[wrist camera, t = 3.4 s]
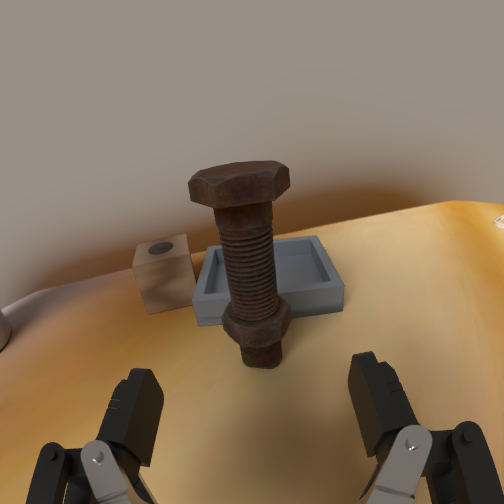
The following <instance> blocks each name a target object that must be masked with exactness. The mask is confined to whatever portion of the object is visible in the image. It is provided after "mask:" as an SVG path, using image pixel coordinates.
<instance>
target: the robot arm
mask: <svg viewBox="0 0 504 504" xmlns="http://www.w3.org/2000/svg"><path fill="white" fill-rule="evenodd" d="M10 334H11V327H10V325H9V323H8V322H7V320H6V318H5V316H4V314H3V312H2V310H1V309H0V350H1V349H2V348H3V347H4V346H5V344H6V343H7V341H8V339H9V337H10ZM348 388H349V393H350V396H351V399H352V403H353V406H354V410H355V413H356V417H357V420H358V424H359V427H360V431H361V434H362V438H363V442H364V446H365V449H366V453H367V457H372V456H375V455H376V458H377V461H378V463H377V464H376V466H375V468H374V470H373V472H372V474H371V476H370V478H369V480H368V482H367V483H366V485H365V487H364V489H363V490H362V492H361V494H360V496H359V497H358V499H357V500H356V502H355V503H354V504H413V503H414V499H415V497H414V491H415V488H416V486H417V484H418V481H419V479H420V477H425V476H426V480H427V484H428V488H429V493H430V497H431V502H432V504H504V495H503V491H502V487H501V484H500V480H499V477H498V474H497V471H496V468H495V465H494V462H493V459H492V456H491V453H490V450H489V448H488V445H487V442H486V440H485V437H484V435H483V432H482V430H481V428H480V427H479V425H477V424H476V423H474V422H471V421H465V422H462V423H460V424H459V425H458V426H457V427H456V428H455V429H454V430H443V431H430V430H427V429H426V428H425V427H423V426H421V425H420V424H419V423H418V422H417V420H416V417H415V415H414V413H413V410H412V408H411V406H410V403H409V401H408V399H407V396H406V394H405V392H404V390H403V387H402V385H401V383H400V382H399V379H398V376H397V374H396V372H395V370H394V369H393V368H392V367H391V366H390V365H389V364H388V363H387V362H386V361H384V362H380V363H378V362H377V359H376V357H375V355H374V353H373V352H372V351H369V352H364V353H359V354H354V355H353V357H352V361H351V366H350V371H349V376H348ZM163 404H164V394H163V391H162V389H161V387H160V385H159V383H158V381H157V379H156V378H155V376H154V374H153V372H152V370H151V369H141V368H133V369H131V371H130V373H129V376H128V379H127V380H122V381H121V382H120V383H119V384H118V385H117V386H116V388H115V389H114V392H113V395H112V397H111V400H110V402H109V405H108V408H107V410H106V413H105V416H104V419H103V421H102V424H101V427H100V430H99V433H98V436H97V438H96V440H94V441H90V442H88V443H87V444H86V445H85V446H84V447H83V448H78V449H64V448H63V447H62V446H61V445H59V444H58V443H55V442H50V443H47V444H46V445H44V446H43V448H42V449H41V451H40V454H39V457H38V460H37V464H36V467H35V470H34V474H33V477H32V481H31V484H30V488H29V492H28V496H27V500H26V504H63V498H64V494H65V489H66V485H67V483H68V485H67V490H66V494H65V499H64V504H158V503H157V501H156V500H155V498H154V496H153V495H152V493H151V491H150V490H149V488H148V486H147V485H146V483H145V481H144V479H143V478H142V476H141V474H140V473H139V470H140V466H145V467H150V463H151V458H152V453H153V448H154V444H155V439H156V434H157V430H158V425H159V421H160V417H161V412H162V408H163Z"/></svg>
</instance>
